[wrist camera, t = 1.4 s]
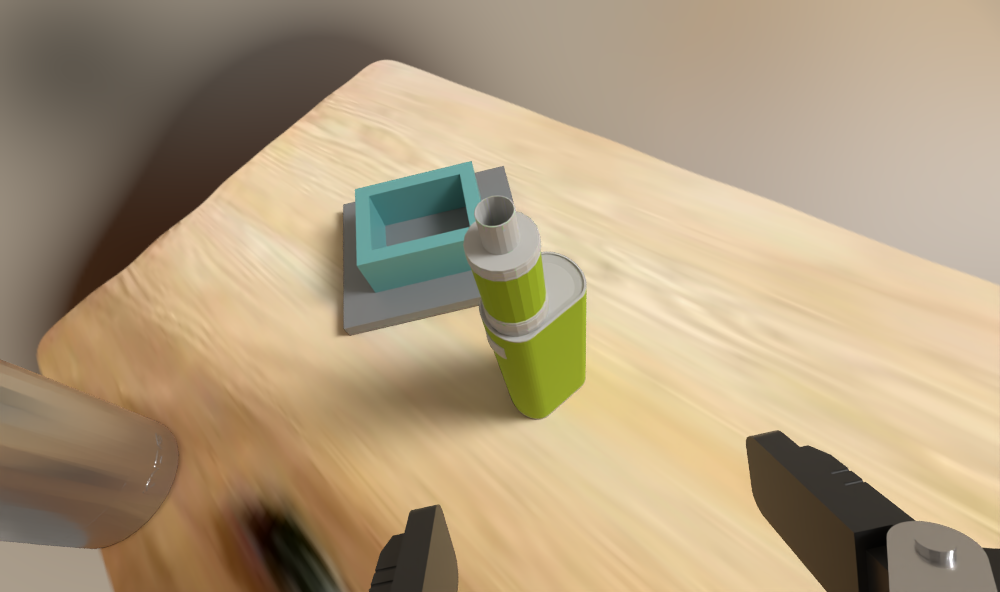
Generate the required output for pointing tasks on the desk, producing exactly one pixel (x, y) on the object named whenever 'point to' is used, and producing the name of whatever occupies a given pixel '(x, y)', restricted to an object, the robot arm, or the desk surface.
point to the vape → (528, 307)
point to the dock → (412, 246)
